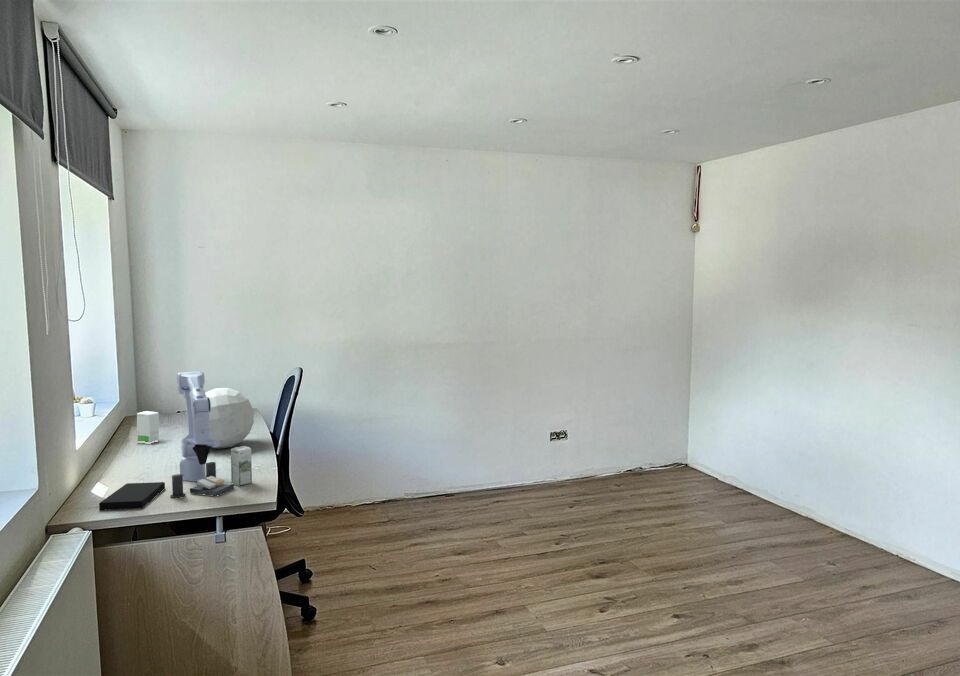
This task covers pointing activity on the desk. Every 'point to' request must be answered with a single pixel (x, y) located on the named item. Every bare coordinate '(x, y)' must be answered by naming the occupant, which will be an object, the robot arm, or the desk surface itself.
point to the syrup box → (241, 465)
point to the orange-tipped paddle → (215, 480)
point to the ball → (229, 416)
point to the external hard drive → (132, 496)
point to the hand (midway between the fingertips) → (202, 463)
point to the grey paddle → (206, 483)
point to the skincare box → (147, 426)
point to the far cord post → (211, 469)
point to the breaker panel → (212, 489)
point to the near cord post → (177, 486)
